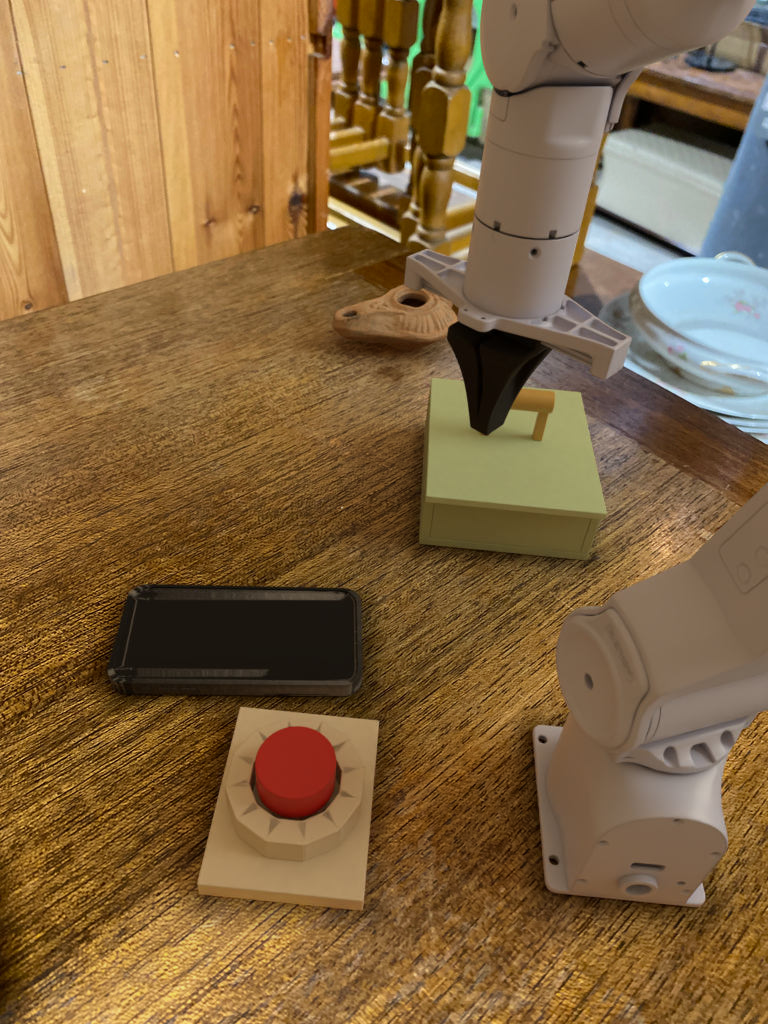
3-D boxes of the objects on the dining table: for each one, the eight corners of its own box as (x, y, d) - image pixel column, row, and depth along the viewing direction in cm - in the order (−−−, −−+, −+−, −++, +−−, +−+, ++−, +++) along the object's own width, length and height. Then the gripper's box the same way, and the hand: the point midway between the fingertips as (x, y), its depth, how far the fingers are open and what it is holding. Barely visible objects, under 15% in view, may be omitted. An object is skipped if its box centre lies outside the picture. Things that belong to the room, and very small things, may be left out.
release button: (330, 822, 38) (331, 802, 37) (249, 814, 38) (247, 794, 37) (339, 750, 41) (340, 729, 40) (264, 742, 41) (263, 721, 40)
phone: (130, 583, 51) (360, 587, 52) (133, 595, 51) (360, 599, 53) (102, 684, 45) (363, 686, 46) (106, 696, 46) (362, 698, 47)
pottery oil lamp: (317, 326, 79) (337, 256, 78) (422, 357, 84) (443, 292, 82) (339, 339, 72) (362, 262, 70) (453, 373, 76) (477, 302, 74)
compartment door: (605, 520, 53) (624, 466, 50) (425, 502, 53) (432, 447, 50) (579, 398, 65) (593, 347, 62) (430, 383, 65) (437, 332, 62)
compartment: (587, 560, 57) (603, 513, 54) (418, 544, 57) (425, 495, 54) (566, 443, 68) (578, 398, 65) (424, 429, 68) (430, 384, 65)
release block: (362, 911, 38) (365, 885, 36) (198, 894, 38) (192, 867, 36) (377, 731, 45) (381, 701, 43) (241, 717, 45) (238, 687, 43)
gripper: (377, 194, 43) (363, 401, 52) (607, 288, 36) (545, 507, 45) (456, 168, 47) (431, 364, 56) (676, 248, 40) (607, 456, 49)
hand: (486, 425), depth 51 cm, fingers closed
